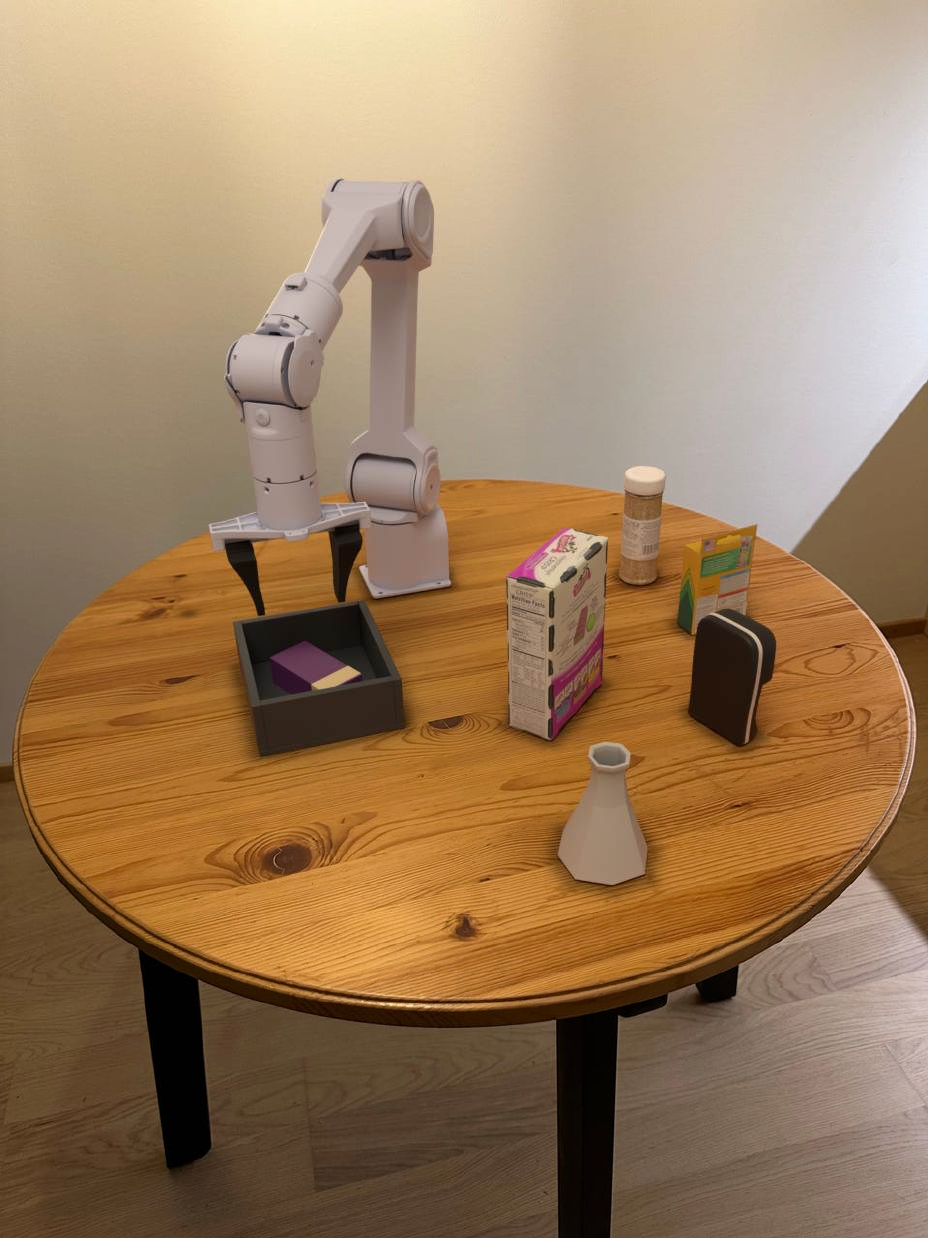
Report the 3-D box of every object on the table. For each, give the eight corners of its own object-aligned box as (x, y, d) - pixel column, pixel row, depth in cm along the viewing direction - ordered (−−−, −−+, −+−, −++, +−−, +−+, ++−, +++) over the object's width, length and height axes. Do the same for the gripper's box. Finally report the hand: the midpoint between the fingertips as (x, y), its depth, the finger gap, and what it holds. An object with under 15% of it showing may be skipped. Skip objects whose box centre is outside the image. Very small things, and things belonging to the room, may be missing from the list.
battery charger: (769, 734, 92) (787, 628, 86) (740, 750, 90) (757, 643, 84) (711, 699, 97) (725, 597, 91) (684, 713, 95) (696, 609, 89)
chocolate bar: (308, 665, 102) (305, 639, 101) (364, 699, 97) (362, 673, 95) (272, 682, 100) (268, 657, 98) (328, 719, 94) (325, 693, 92)
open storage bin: (368, 644, 107) (364, 599, 104) (404, 728, 94) (401, 678, 91) (240, 667, 103) (232, 621, 100) (259, 757, 90) (251, 707, 87)
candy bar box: (558, 670, 102) (563, 524, 93) (603, 684, 99) (612, 536, 91) (503, 727, 93) (503, 573, 85) (550, 744, 91) (555, 587, 83)
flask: (550, 826, 82) (553, 728, 77) (636, 819, 82) (645, 722, 77) (565, 891, 76) (569, 789, 70) (659, 884, 76) (670, 782, 71)
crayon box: (728, 608, 112) (741, 513, 106) (746, 620, 109) (759, 524, 104) (674, 623, 109) (684, 527, 103) (691, 636, 107) (702, 538, 101)
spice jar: (648, 566, 121) (656, 462, 114) (662, 584, 117) (672, 477, 110) (612, 571, 120) (619, 466, 113) (625, 589, 116) (633, 481, 109)
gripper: (205, 500, 83) (228, 637, 90) (374, 476, 87) (384, 611, 94) (198, 469, 89) (220, 601, 96) (357, 449, 93) (367, 577, 100)
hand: (300, 604), depth 95 cm, fingers open, 7 cm apart
